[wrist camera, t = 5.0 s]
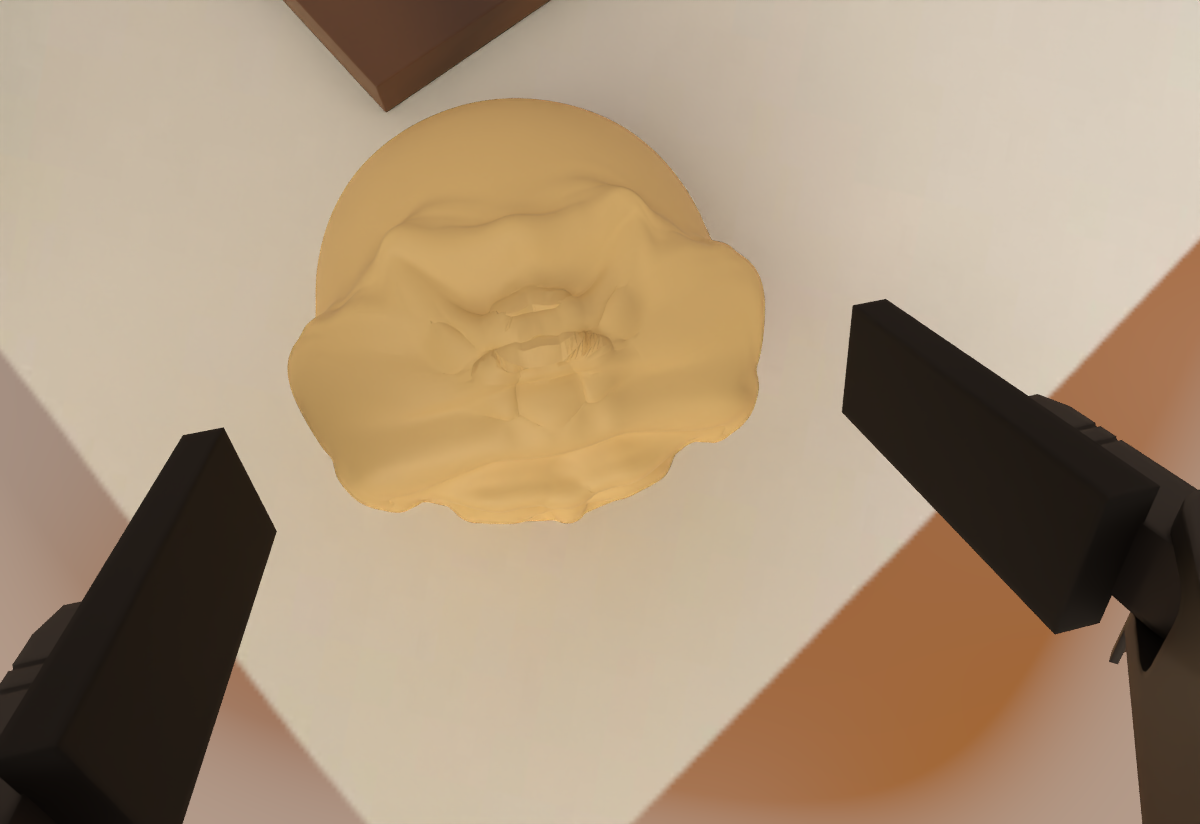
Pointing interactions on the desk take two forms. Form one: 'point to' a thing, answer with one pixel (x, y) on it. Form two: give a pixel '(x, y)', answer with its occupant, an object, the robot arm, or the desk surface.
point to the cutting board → (406, 37)
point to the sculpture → (521, 319)
